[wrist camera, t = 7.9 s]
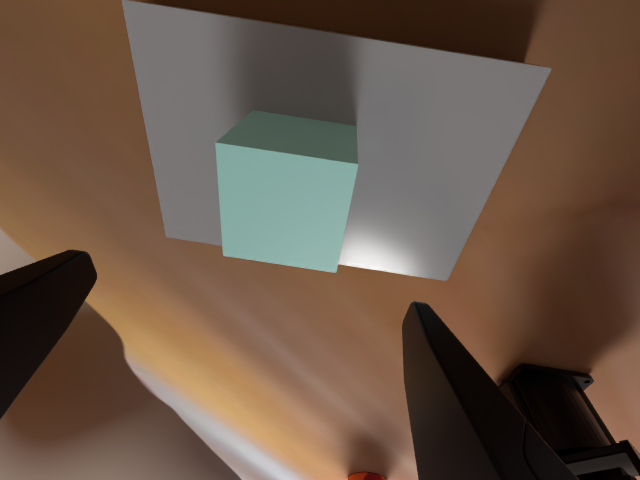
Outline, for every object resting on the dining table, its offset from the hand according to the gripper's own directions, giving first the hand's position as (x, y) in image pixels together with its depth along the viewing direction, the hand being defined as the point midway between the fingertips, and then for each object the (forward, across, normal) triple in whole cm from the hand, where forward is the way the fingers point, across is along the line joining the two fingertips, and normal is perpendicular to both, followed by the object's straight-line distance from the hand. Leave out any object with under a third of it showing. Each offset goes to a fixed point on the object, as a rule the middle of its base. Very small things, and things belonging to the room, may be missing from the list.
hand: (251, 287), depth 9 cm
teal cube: (+9, 0, 0) cm, 9 cm away
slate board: (+12, -1, 0) cm, 12 cm away
